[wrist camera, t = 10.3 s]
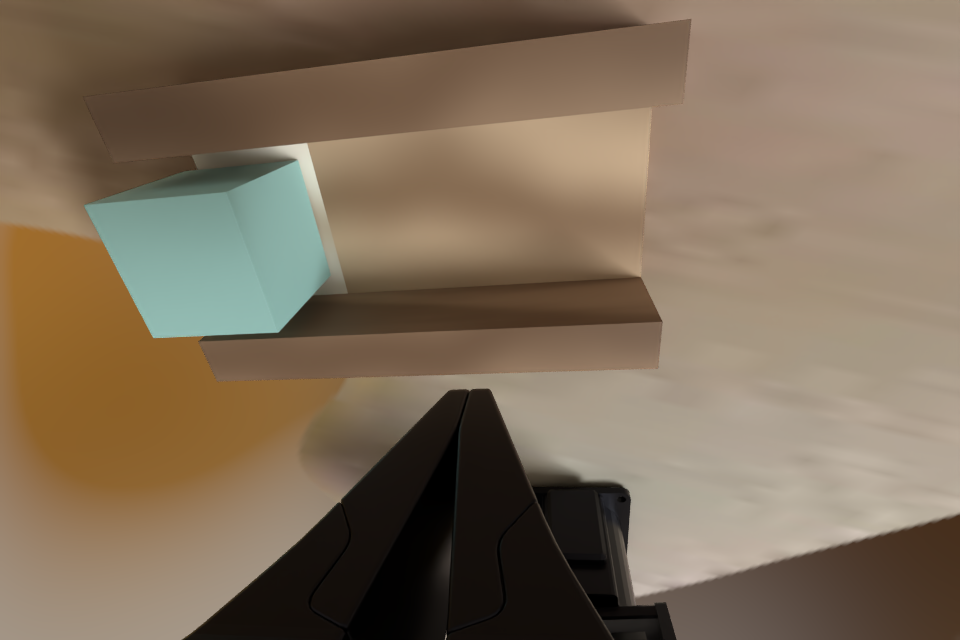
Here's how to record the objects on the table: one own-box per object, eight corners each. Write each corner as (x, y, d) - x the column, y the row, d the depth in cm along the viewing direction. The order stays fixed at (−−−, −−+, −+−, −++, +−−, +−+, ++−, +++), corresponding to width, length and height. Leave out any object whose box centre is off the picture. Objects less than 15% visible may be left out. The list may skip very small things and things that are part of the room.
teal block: (331, 275, 21) (278, 332, 17) (229, 281, 22) (153, 338, 17) (297, 159, 18) (226, 192, 14) (184, 171, 19) (83, 205, 15)
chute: (635, 311, 21) (658, 368, 17) (268, 328, 24) (216, 381, 20) (653, 27, 16) (691, 18, 12) (176, 88, 18) (82, 96, 14)
